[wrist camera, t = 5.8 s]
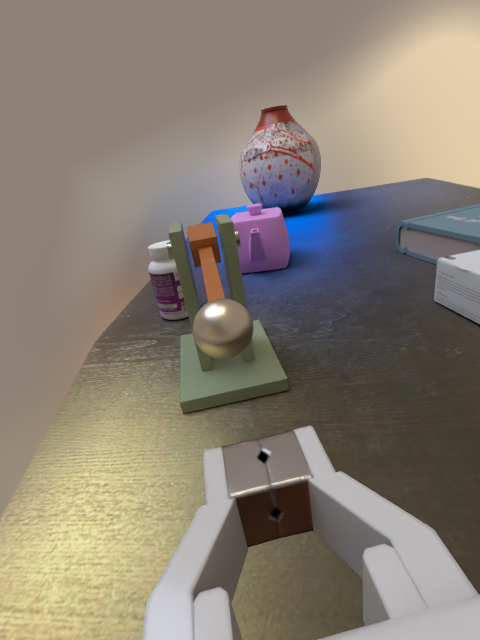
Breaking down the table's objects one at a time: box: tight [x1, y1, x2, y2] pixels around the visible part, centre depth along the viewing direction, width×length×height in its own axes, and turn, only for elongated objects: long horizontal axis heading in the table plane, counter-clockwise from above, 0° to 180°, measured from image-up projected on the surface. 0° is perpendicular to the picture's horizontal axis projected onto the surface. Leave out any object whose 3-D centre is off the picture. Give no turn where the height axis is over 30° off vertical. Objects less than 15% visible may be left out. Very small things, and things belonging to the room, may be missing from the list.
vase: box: [239, 106, 321, 215], centre depth 100 cm, size 23×23×28 cm
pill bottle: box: [148, 240, 188, 320], centre depth 46 cm, size 5×5×10 cm
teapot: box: [231, 204, 290, 273], centre depth 61 cm, size 18×10×10 cm, turn 174°
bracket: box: [167, 214, 289, 413], centre depth 31 cm, size 12×9×14 cm
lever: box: [187, 222, 253, 359], centre depth 25 cm, size 14×4×4 cm, turn 9°
